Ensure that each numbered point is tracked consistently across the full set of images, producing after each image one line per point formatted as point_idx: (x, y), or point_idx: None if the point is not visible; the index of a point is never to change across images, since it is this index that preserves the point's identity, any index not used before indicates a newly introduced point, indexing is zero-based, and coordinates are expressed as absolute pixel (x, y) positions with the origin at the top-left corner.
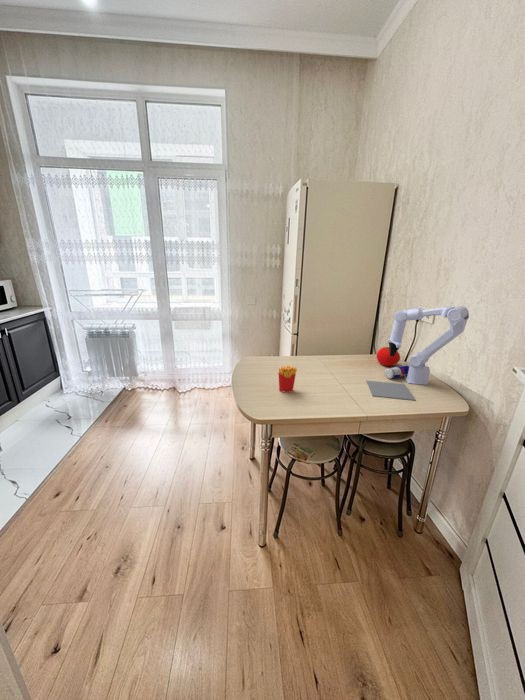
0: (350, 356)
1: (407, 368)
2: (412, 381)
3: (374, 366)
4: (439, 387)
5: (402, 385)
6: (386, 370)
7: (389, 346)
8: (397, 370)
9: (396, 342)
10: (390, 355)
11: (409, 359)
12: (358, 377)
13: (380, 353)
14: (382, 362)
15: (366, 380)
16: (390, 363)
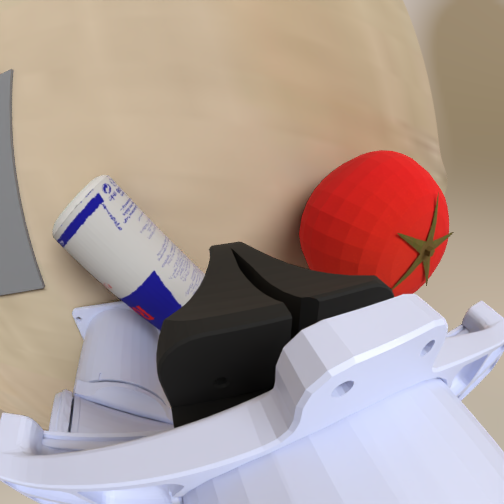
0: (403, 37)
1: None
2: (85, 331)
3: (294, 126)
4: None
5: (20, 274)
6: (83, 188)
7: (309, 273)
8: (95, 274)
9: (163, 492)
10: (210, 250)
11: (59, 411)
12: (57, 20)
13: (382, 170)
14: (322, 181)
15: (11, 69)
16: (299, 234)
